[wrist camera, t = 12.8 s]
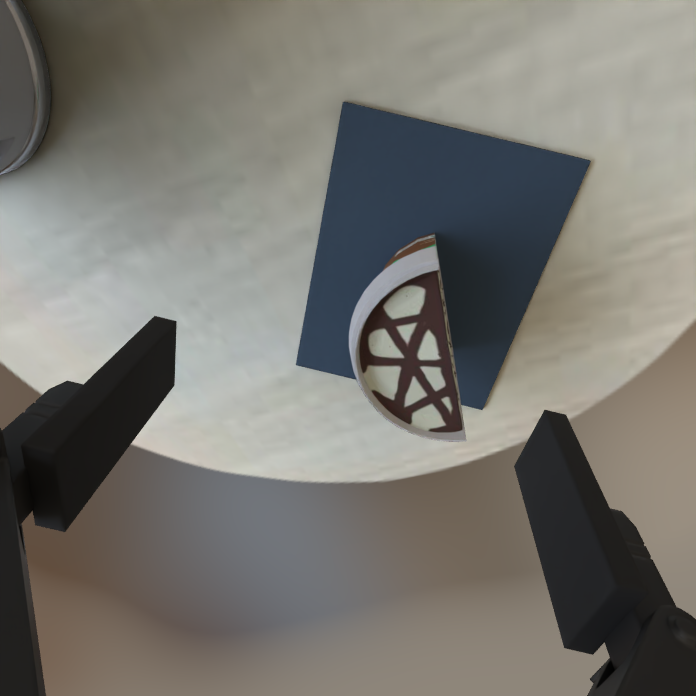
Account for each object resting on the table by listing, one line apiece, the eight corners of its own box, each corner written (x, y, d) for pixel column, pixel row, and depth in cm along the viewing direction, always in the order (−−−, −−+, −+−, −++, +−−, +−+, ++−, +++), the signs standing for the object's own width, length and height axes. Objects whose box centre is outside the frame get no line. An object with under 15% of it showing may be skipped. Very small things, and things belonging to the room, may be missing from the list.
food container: (344, 229, 34) (319, 279, 25) (431, 211, 33) (437, 257, 24) (379, 375, 39) (370, 458, 31) (455, 364, 38) (467, 448, 29)
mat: (296, 362, 40) (295, 365, 40) (343, 101, 30) (342, 101, 30) (481, 407, 40) (482, 410, 40) (589, 160, 30) (591, 160, 30)
